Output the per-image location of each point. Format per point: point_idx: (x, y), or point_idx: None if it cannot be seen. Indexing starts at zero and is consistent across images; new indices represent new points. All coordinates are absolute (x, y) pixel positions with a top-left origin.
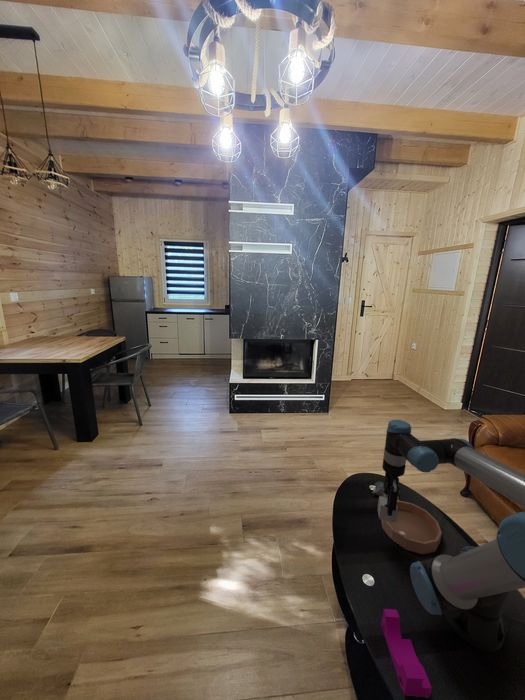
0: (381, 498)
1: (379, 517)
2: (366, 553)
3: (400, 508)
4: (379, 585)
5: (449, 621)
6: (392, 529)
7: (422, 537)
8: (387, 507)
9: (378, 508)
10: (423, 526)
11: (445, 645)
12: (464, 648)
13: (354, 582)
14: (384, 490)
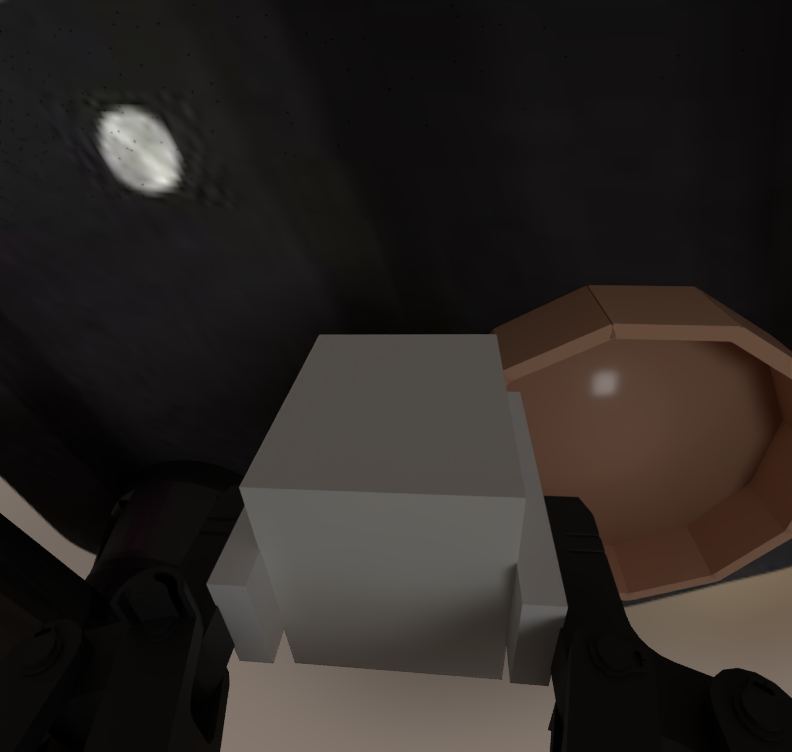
0: (454, 523)
1: (314, 346)
2: (328, 149)
3: (783, 436)
4: (144, 221)
5: (151, 470)
6: (506, 370)
7: (542, 488)
8: (225, 570)
9: (436, 364)
10: (627, 510)
11: (67, 433)
12: (100, 479)
13: (60, 49)
14: (610, 697)
